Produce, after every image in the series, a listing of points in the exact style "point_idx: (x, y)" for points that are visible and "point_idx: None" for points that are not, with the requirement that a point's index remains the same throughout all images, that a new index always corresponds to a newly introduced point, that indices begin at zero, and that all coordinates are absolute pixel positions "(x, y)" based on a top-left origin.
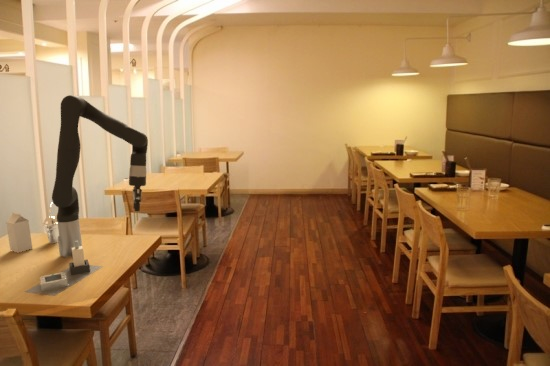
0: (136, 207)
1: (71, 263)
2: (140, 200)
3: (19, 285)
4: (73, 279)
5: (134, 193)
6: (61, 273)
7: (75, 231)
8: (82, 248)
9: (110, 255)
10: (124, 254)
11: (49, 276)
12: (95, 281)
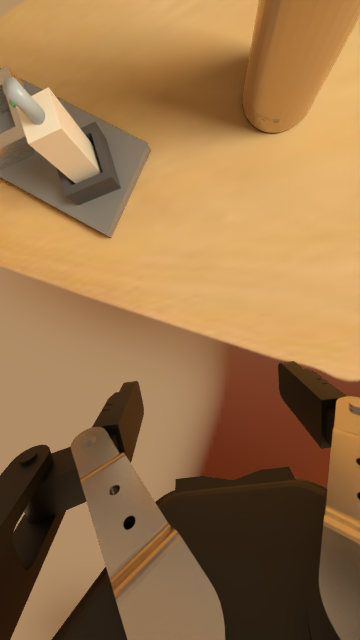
0: (104, 413)
1: (88, 132)
2: (28, 520)
3: (57, 23)
4: (36, 172)
5: (108, 567)
6: (18, 127)
7: (282, 7)
8: (30, 141)
9: (221, 237)
10: (216, 281)
11: (7, 97)
12: (42, 231)
